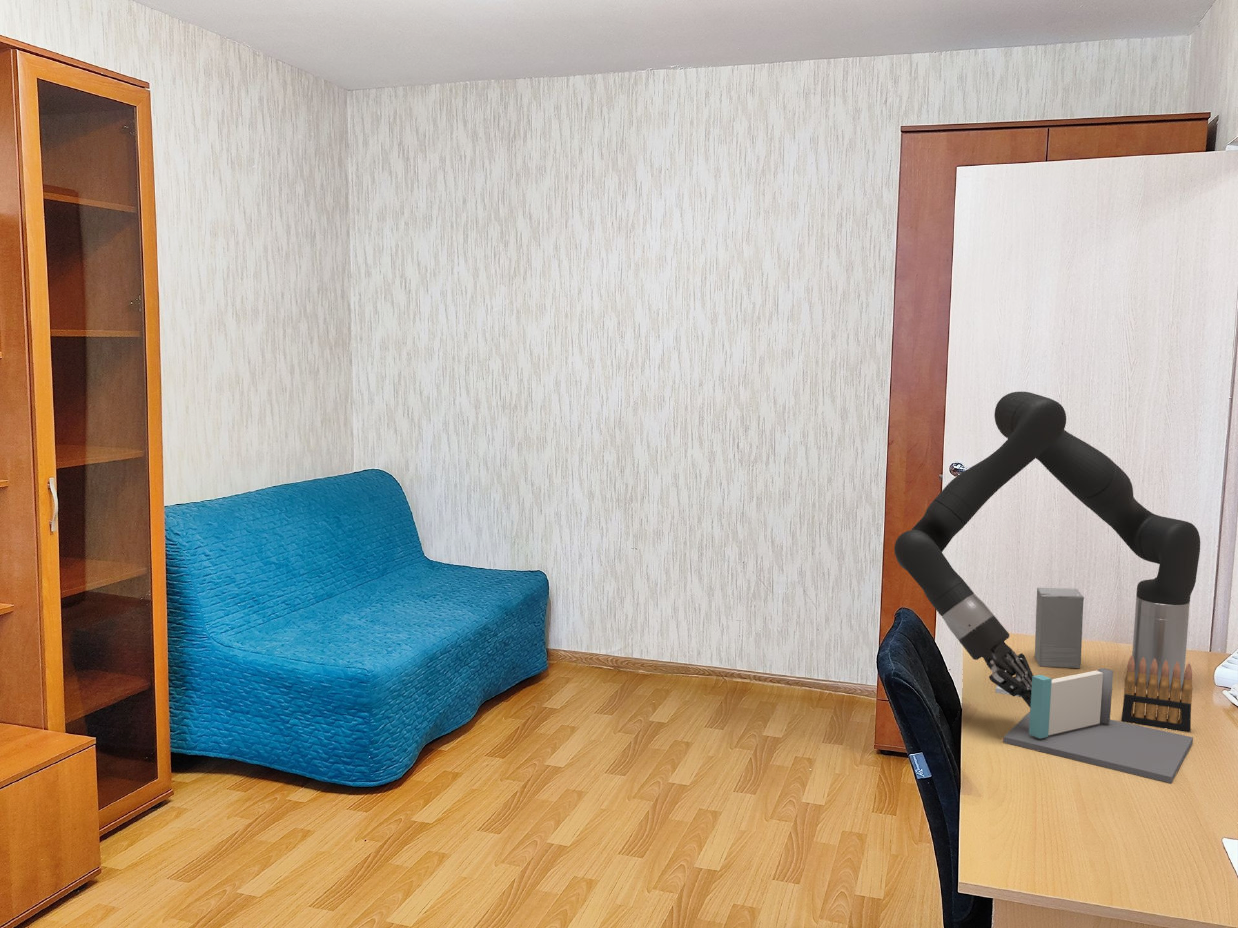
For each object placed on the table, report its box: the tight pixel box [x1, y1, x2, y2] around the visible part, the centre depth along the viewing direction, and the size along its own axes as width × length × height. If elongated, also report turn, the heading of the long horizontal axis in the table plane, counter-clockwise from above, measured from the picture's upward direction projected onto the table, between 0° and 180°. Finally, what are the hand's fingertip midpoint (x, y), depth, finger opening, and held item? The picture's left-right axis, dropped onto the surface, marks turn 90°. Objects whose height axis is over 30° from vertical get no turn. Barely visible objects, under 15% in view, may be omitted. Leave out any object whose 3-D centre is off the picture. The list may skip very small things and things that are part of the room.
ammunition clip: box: [1120, 655, 1194, 733], centre depth 175 cm, size 11×2×12 cm, turn 63°
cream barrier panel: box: [1029, 667, 1114, 739], centre depth 170 cm, size 18×2×10 cm, turn 116°
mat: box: [1003, 711, 1194, 784], centre depth 168 cm, size 20×25×1 cm
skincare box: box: [1034, 587, 1085, 669], centre depth 208 cm, size 8×7×16 cm
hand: (1042, 710), depth 169 cm, fingers closed
